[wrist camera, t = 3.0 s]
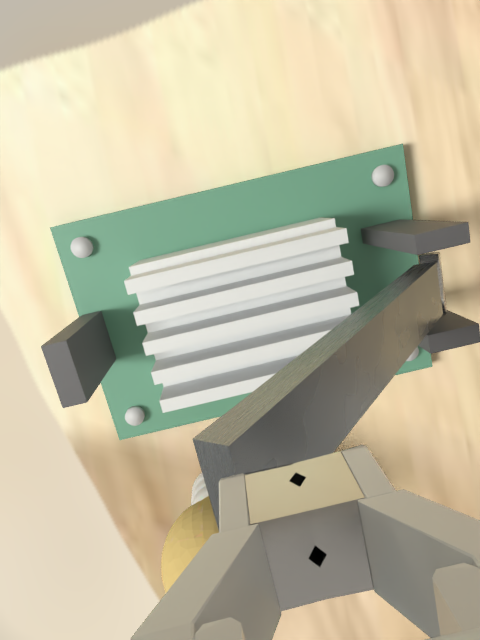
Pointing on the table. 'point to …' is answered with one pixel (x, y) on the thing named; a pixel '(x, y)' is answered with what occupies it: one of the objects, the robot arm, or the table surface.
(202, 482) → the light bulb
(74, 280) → the board
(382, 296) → the strap
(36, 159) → the table surface
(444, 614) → the robot arm
